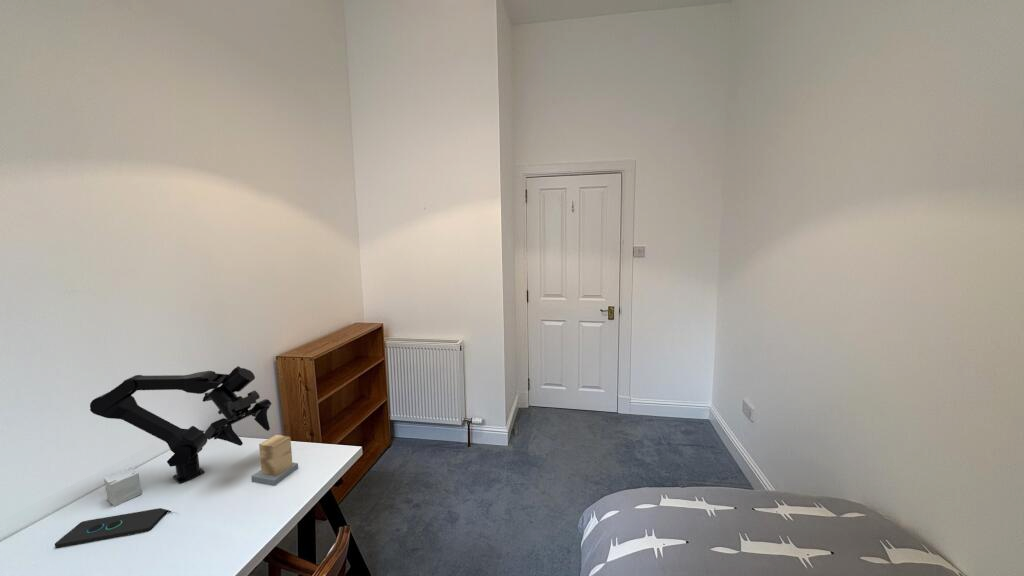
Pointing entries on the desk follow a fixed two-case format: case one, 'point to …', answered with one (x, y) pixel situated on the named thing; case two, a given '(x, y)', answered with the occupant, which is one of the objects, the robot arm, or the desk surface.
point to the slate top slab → (273, 480)
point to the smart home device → (112, 527)
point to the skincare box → (122, 486)
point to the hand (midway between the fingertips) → (255, 437)
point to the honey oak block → (275, 455)
